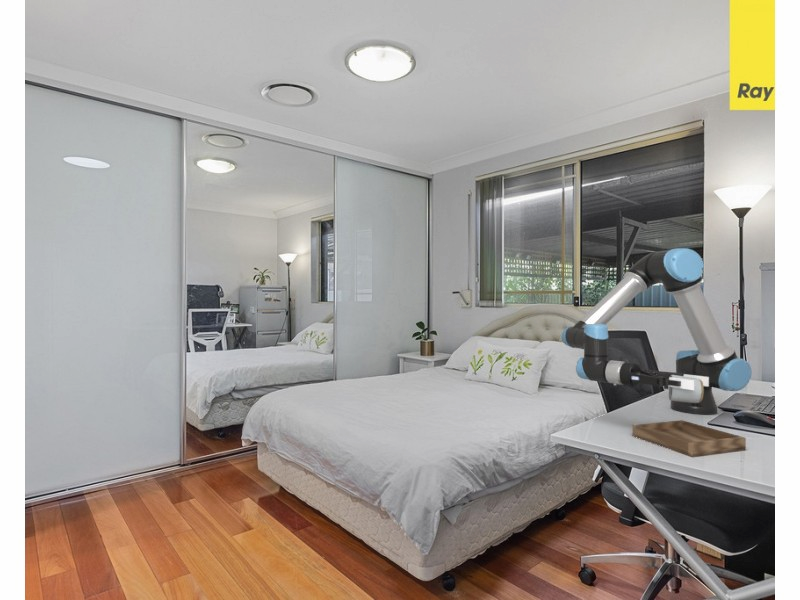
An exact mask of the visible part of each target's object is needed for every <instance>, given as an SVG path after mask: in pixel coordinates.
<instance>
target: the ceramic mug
mask: <svg viewBox="0 0 800 600" xmlns="http://www.w3.org/2000/svg"><path fill="white" fill-rule="evenodd" d="M670 377H672V378H680V379H688V380H695V390H689V389H681V388H674V387H669V386H668V400H669V401H670V402H671V401H678V402H690V403H699V402H701V401H702V399H703V393H704V387H703V382H702V381H701V380H700V379H697V378H692V377H685V376H678V375H671V376H670Z"/></svg>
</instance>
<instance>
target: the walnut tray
mask: <svg viewBox="0 0 800 600" xmlns="http://www.w3.org/2000/svg"><path fill="white" fill-rule="evenodd" d="M633 436H634V438H636V437H637V438H636V439H639V438H640V439H639V440H642V441H644V440H645V442H647V441H648V442H647V443H650V442H651V444H652V445H656V444H657V445H656V446H659V445H660V446H659V447H662V446H663V447H662V448H664V447H665V448H664V449H667V448H668V450H670V449H671V450H670V451H674V452H677V453H679V454H682V455H686V456H688V457H690V458H697V457H704V456H710V455H711V456H712V455H719V454H728V453H734V452H735V453H736V452H742V451H746V450H747V449H746V448H747V447H746V445H747V442H746V440H747V439H746V437H744V436H742V435H741V436H740V435H738V434H733V433H729V432H727V431H726V432H725V431H722V430H718V429H715V428H712V427H708V426H704V425H700V424H697V423H693V422H689V421H686V420H670V421H661V422H649V423H639V424H632V437H633Z"/></svg>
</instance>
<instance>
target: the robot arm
mask: <svg viewBox="0 0 800 600" xmlns="http://www.w3.org/2000/svg"><path fill="white" fill-rule="evenodd" d="M703 261H704V260H703V259H702V257H701V255H700V254H699V253H698V252H696V251H695V250H694V249H690V248H686V247H685V248H684V247H683V248H680V247H679V248H671V249H667V250H660V251H653V252H650V253H648V254H646V255H645V256H643V257H642V258H640V259H639V260H638V261H637V262H635V264H633V265H632V266H631V267H630V268H629V269H628V270H627V271H626V272H625V273H624V275H623V278H622V279H621V280H620V281H619V282H618V283H617V284H616V285H615V286H614V287H613V288H612V289H611V290H610V291H608V293H606V295H605V296H604V297H602V299H600V300H599V301H598V302H597V303H596V304H595V305H594V306H593V307H592V308H591V309H590V310H589V311H588V312H587V313H586V314H585V315H584V316H583V317H581V319H579V320H578V321H577V323H575V324H574V325H573V326H571V325H570V326H568V327H565V328H564V329H563V330H562V332H561V335H560V337H561V341H562V342H563V344H564V345H566V346H567V347H570V348H574V349H580V350H583V357H580V358H579V359H577V361H576V366H575V373H576V374H577V376H578V377H579V378H580V379H582V380H583V379H584V380H588V381H591V382H600V383H605V384H606V383H609V384H613V386H618V385H622V386H628V387H633V388H634V387H637V386H638V385H639V384H644V385H650V386H655V387H660V388H663V389H664V390H669V387H674V388H681V389H689V390H695V380H688V379H680V378H672V377H670V376H671V375H678V376H685V377H692V378H697V379H700V380H701V381H702V382H703V387H704V393H703V399H702V401H701V402H699V403H690V402H678V401H670V408H671V409H672V410H674V411H678V412H681V413H682V412H683V413H688V414H695V415H716V414H718V405H717V404H716V400H715V397H714V393H713V388H714V389H719V390H723V391H726V392H727V391H729V392H738V391H741V390H743V389H745V387H747V386H748V385H749V383H750V380H751V378H752V368H751V365H750V363H749V362H748V361H747V360H745V359H744V358H742V357H741V358H739V357H738V355H737V353H736V351H735V349H734V347H732V346H729V345H727V343H726V341H725V339H724V336H723V335H722V332H721V329H720V328H719V325H718V324H717V321H716V319H715V317H714V315H713V313H712V310H711V308H710V306H709V304H708V302H707V299H706V297H705V294H704V293H703V291H702V288H701V284H702V281H703V278H702V275H703V273H704V270H703V269H704V268H705V265H704V262H703ZM657 284H662V286H663V288H664V290H665V292H666V293H667V294H670V295H672V296H673V298H674V300H675V302H676V304H677V307H678V309H679V311H680V314H681V315H682V317H683V320H684V322H685V324H686V326H687V328H688V330H689V332H690V335H691V337H692V340H693V342H694V344H695V345H696V346H695V347H696V348H697V350H695V349H692V350H679V351H677V353H676V360H675V372H672V371H662V370H661V371H660V370H654V369H647V368H644V369H641V367H640V365H639V364H638V363H636V362H631V361H630V362H628V361H621V360H612V359H610V360H609V355H608V354H609V350H608V349H609V328H608V326H607V324H608V323H609V322H610V321H611V320H612V319H613V318H614V317H616V315H617V314H618V313H619V312H621V311H622V310H623V309H624V308H625V307H626V306H627V305H628V304H629V303H630V302H631V301H632V300H633V299H634V298H635V297H636V296H637V295H639V293H642V292H646V291H647V290H648V289H649V288H650V287H653V286H654V285H657Z"/></svg>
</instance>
